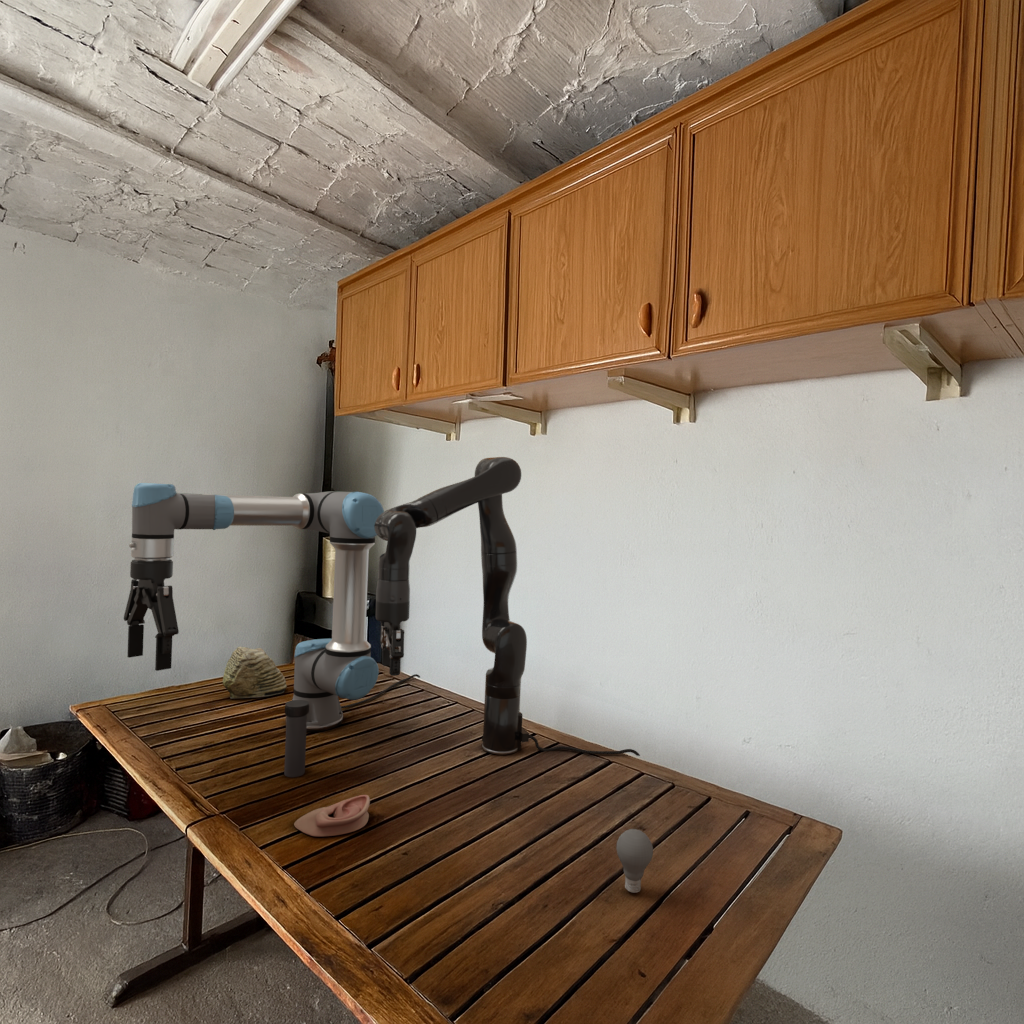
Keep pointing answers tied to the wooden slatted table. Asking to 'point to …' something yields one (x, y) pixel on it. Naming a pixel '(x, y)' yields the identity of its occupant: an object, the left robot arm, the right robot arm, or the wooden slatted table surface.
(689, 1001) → the wooden slatted table surface
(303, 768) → the dark grey cylinder
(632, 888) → the light bulb
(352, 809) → the anatomical model
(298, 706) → the lid
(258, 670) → the fossil
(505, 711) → the right robot arm
